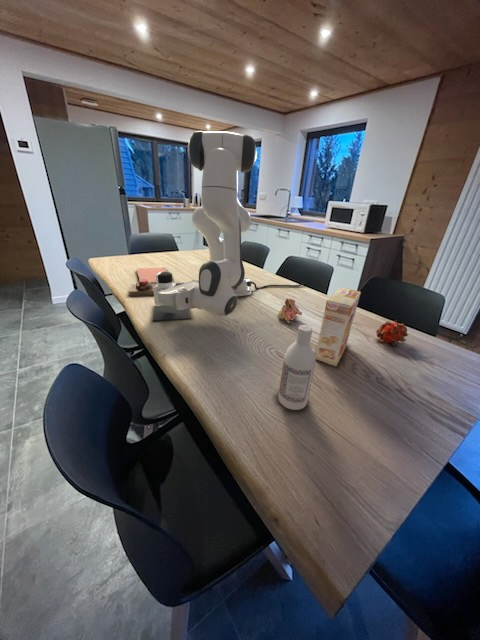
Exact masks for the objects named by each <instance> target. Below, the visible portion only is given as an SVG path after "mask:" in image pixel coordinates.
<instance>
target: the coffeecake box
mask: <svg viewBox="0 0 480 640" xmlns="http://www.w3.org/2000/svg"><path fill="white" fill-rule="evenodd" d="M361 294H362V292H361V291H359V290H354V289H350V288H345V287H337V289H336V290H334V292H333V293H332V294H331V295H330V296H329V297H328V298H327V300H326V303H325V308H324V313H323V316H322V322H321V326H320V331H319V335H318V338H317V339H318V340H317V344H316V349H315V352H314V354H315V360H317V361H320V362H323V363H324V364H328V365H331V366H334V367H337V366H338V364H339V362H340V360H341V358H342V356H343V354H344V352H345V350H346V347H347V345H348V342H349V341H348V340H349V337H350V333H351V330H352V326H353V323H354V322H353V321H354V319H355V315H356V311H357V307H358V304H359V301H360V297H361Z"/></svg>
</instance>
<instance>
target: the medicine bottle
mask: <svg viewBox="0 0 480 640" xmlns="http://www.w3.org/2000/svg"><path fill="white" fill-rule="evenodd" d="M173 279H174V277H173V273H172V272H170V271H168V272H159V273H157V274H156V282H157V285H156V286H155V287H153V292H154V295H153V300H154V306H163V305H164V304H162V303H160V302H159V301H158V289H159V288H164V290H166V289H169V288H172V287H175V286H177V284H176V283H177V282H174V281H173ZM164 306H167V305H164Z"/></svg>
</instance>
